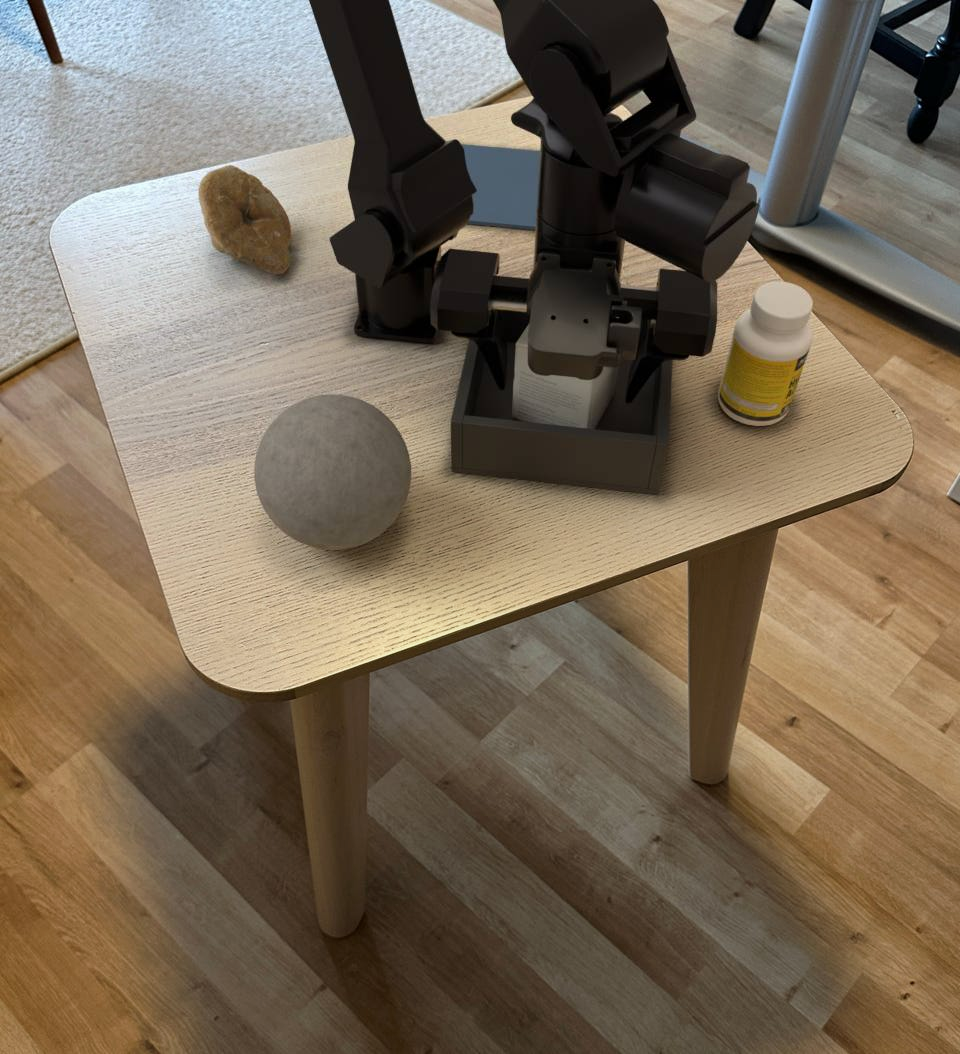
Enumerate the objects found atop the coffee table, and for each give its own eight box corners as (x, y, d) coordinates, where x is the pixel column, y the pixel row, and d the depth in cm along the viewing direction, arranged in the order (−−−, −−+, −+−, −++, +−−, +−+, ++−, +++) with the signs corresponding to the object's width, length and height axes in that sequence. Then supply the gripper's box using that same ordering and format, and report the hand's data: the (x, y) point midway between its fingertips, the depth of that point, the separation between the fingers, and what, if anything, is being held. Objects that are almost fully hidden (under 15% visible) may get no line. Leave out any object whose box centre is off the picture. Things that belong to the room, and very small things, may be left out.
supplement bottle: (789, 433, 79) (823, 330, 71) (714, 422, 80) (740, 318, 72) (790, 383, 82) (823, 279, 75) (719, 373, 83) (744, 269, 75)
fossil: (207, 238, 84) (202, 144, 88) (177, 269, 86) (174, 177, 91) (301, 281, 90) (292, 191, 94) (271, 309, 92) (264, 220, 97)
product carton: (542, 368, 82) (547, 291, 77) (617, 392, 81) (628, 315, 75) (510, 419, 79) (513, 342, 73) (587, 445, 77) (597, 368, 72)
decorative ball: (415, 467, 77) (409, 361, 69) (412, 580, 70) (406, 477, 62) (274, 468, 76) (252, 362, 69) (258, 582, 70) (233, 478, 62)
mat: (440, 221, 95) (440, 217, 95) (461, 147, 103) (461, 143, 102) (575, 234, 94) (576, 230, 94) (586, 158, 102) (587, 154, 101)
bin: (451, 471, 76) (450, 421, 72) (480, 336, 85) (481, 286, 82) (658, 495, 75) (668, 445, 71) (665, 355, 84) (675, 305, 80)
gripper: (410, 274, 63) (420, 458, 75) (736, 306, 61) (691, 488, 73) (442, 167, 70) (445, 351, 82) (734, 193, 68) (694, 377, 80)
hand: (565, 392), depth 79 cm, fingers open, 9 cm apart
